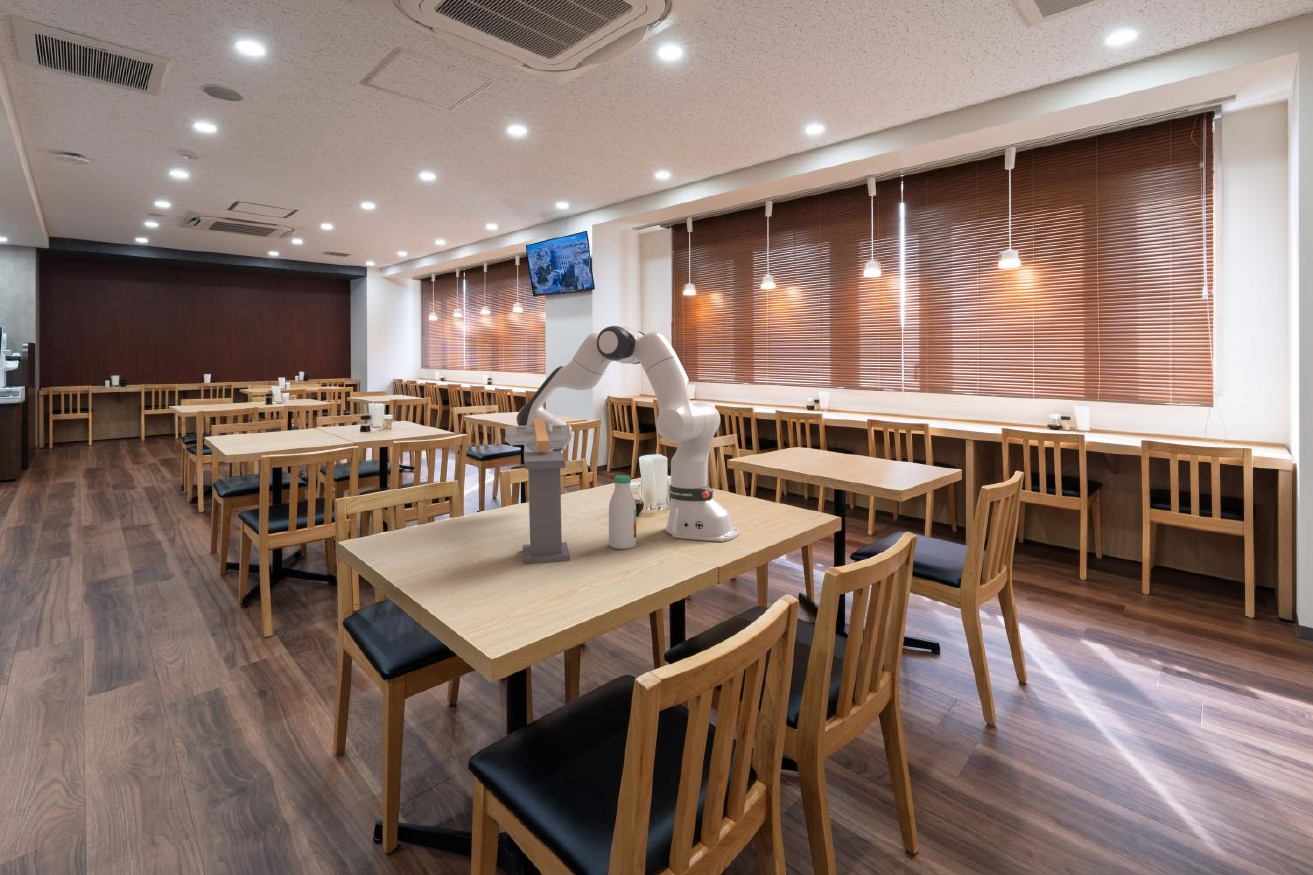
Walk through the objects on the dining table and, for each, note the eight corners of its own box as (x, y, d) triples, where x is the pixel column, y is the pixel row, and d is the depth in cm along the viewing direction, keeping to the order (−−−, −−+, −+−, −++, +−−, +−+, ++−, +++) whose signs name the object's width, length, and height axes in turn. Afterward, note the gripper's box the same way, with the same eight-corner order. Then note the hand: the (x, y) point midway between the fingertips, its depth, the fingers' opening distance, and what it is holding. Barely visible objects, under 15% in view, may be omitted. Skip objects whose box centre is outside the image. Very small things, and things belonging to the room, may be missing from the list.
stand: (522, 547, 178) (520, 452, 175) (565, 545, 181) (564, 450, 177) (523, 566, 163) (520, 461, 159) (570, 562, 165) (569, 460, 162)
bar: (534, 428, 195) (533, 418, 194) (544, 428, 195) (543, 418, 194) (537, 451, 170) (537, 440, 169) (548, 451, 171) (548, 440, 170)
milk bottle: (630, 551, 175) (629, 479, 173) (604, 548, 178) (603, 477, 175) (640, 543, 183) (640, 474, 180) (615, 540, 185) (615, 472, 183)
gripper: (504, 433, 203) (503, 415, 190) (569, 431, 207) (572, 413, 195) (505, 451, 201) (503, 434, 188) (570, 449, 205) (573, 432, 192)
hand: (539, 424), depth 191 cm, fingers closed on bar, 3 cm apart
